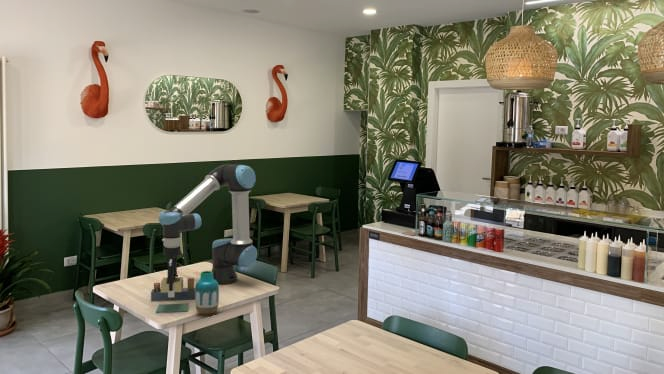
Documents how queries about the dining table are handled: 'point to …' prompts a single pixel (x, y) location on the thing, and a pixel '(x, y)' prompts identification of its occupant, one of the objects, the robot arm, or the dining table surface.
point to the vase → (206, 293)
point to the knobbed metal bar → (184, 295)
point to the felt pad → (172, 308)
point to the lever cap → (177, 284)
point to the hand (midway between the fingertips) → (172, 293)
